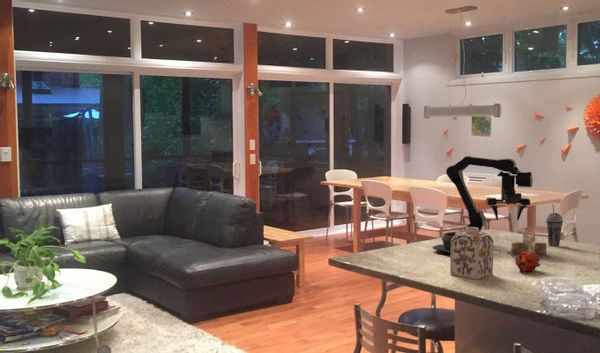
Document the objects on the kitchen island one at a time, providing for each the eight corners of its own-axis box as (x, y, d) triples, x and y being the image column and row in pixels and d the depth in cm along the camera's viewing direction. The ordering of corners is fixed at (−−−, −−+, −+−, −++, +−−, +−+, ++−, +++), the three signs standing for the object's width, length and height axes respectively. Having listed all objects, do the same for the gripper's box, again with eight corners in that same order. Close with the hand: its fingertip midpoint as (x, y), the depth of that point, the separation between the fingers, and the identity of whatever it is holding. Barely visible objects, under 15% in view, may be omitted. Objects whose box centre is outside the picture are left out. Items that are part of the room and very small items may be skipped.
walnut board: (512, 254, 268) (512, 243, 268) (511, 253, 270) (511, 242, 270) (546, 255, 267) (546, 243, 266) (544, 254, 269) (545, 242, 268)
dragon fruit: (535, 272, 244) (523, 282, 236) (518, 257, 248) (505, 267, 239) (548, 257, 240) (535, 267, 231) (529, 242, 243) (517, 251, 235)
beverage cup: (565, 247, 287) (567, 203, 286) (553, 248, 285) (554, 204, 283) (554, 244, 294) (555, 202, 292) (541, 245, 291) (543, 202, 290)
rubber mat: (512, 258, 263) (512, 257, 263) (506, 252, 276) (506, 251, 276) (552, 259, 261) (552, 258, 261) (543, 253, 274) (543, 251, 274)
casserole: (426, 254, 273) (426, 235, 273) (440, 247, 289) (441, 229, 288) (483, 260, 260) (483, 240, 259) (495, 252, 275) (495, 233, 275)
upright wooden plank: (529, 257, 262) (530, 236, 262) (522, 251, 274) (523, 231, 274) (534, 257, 262) (535, 236, 262) (527, 251, 274) (527, 231, 273)
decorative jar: (449, 275, 234) (449, 227, 233) (465, 270, 242) (466, 224, 241) (478, 280, 226) (478, 231, 224) (494, 275, 234) (495, 227, 232)
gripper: (490, 187, 279) (489, 222, 280) (533, 188, 277) (533, 223, 278) (485, 185, 290) (485, 219, 291) (527, 185, 288) (526, 219, 289)
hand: (507, 220), depth 287 cm, fingers open, 9 cm apart
